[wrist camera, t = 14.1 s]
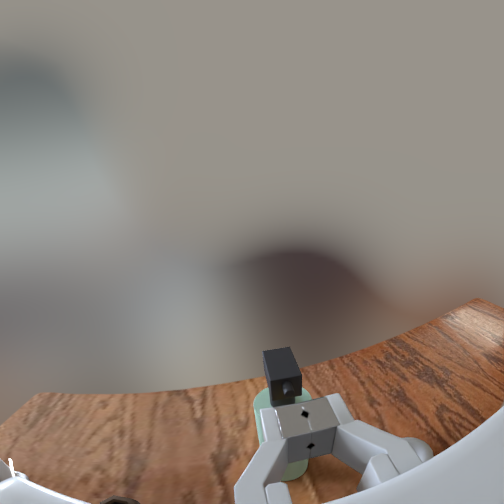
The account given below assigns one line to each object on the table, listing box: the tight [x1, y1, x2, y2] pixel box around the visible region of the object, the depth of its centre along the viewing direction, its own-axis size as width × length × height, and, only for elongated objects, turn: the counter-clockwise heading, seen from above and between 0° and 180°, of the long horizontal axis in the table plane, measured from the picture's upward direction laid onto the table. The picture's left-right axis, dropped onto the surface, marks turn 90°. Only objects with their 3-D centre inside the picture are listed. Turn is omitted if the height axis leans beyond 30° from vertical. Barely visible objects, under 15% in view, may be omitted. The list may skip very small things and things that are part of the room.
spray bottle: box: [254, 347, 312, 481], centre depth 29 cm, size 7×8×22 cm
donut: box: [402, 437, 434, 463], centre depth 26 cm, size 10×4×10 cm
